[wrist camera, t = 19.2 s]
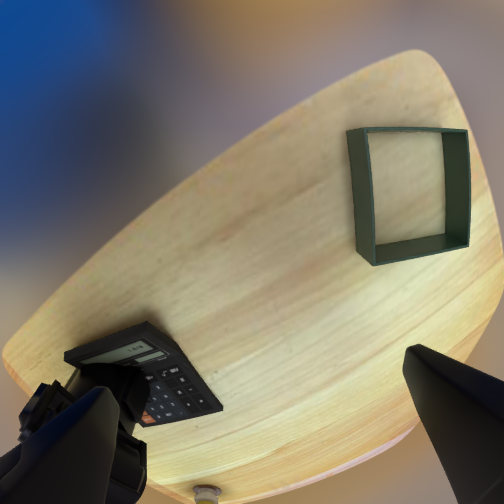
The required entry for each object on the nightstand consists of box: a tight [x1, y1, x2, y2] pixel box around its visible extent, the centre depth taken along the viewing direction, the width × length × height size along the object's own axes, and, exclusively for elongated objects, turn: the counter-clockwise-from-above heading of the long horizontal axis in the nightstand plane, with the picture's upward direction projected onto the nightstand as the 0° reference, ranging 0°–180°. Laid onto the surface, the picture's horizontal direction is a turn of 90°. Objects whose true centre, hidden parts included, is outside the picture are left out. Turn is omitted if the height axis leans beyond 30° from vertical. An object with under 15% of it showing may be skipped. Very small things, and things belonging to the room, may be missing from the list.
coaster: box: [193, 485, 222, 496], centre depth 31 cm, size 4×4×1 cm
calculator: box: [64, 321, 223, 428], centre depth 22 cm, size 9×12×3 cm
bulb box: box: [346, 127, 471, 266], centre depth 17 cm, size 8×8×3 cm
